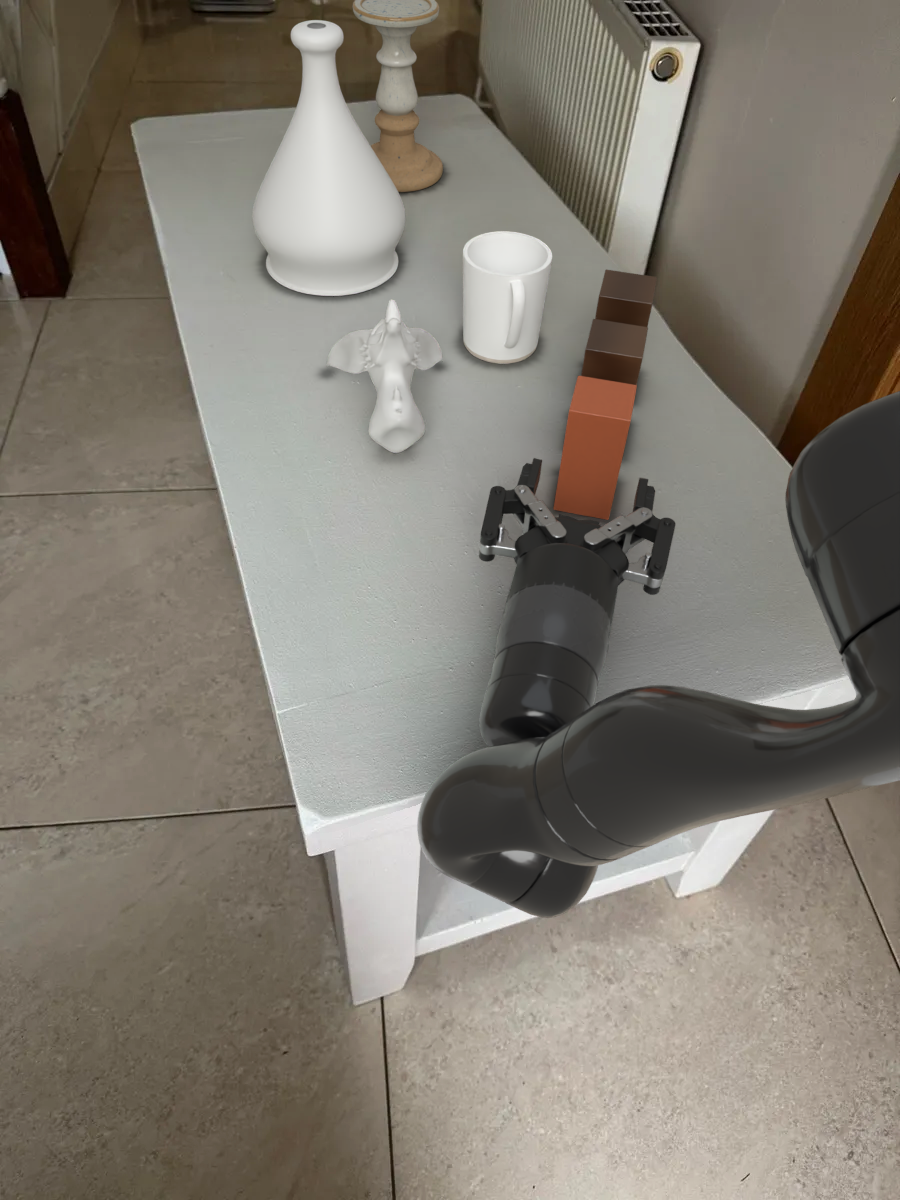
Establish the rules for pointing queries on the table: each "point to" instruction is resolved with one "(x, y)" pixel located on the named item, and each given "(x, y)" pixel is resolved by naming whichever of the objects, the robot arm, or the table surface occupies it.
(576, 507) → the terracotta block
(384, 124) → the candle holder
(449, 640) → the table surface
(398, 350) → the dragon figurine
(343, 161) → the vase
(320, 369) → the table surface
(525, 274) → the mug
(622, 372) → the walnut block mid
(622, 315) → the walnut block far
